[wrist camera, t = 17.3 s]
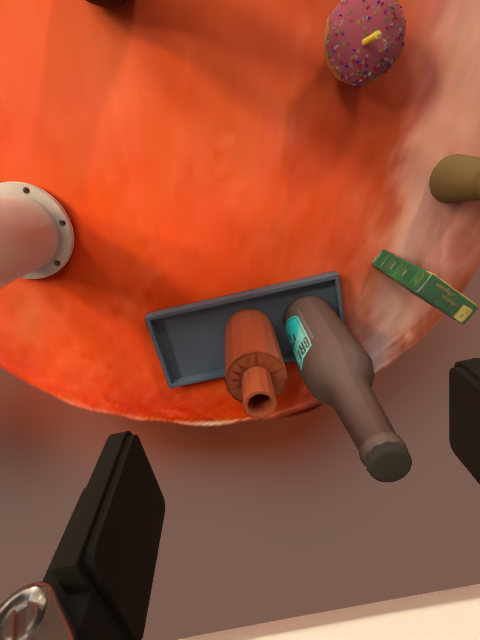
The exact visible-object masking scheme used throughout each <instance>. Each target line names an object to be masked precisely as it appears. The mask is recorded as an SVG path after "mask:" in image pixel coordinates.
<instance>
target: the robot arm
mask: <svg viewBox="0 0 480 640" xmlns="http://www.w3.org/2000/svg"><path fill="white" fill-rule="evenodd" d="M28 189H30V192H29V191H28ZM63 221H65V222H66V224H64V223H63ZM73 248H74V231H73V226H72V223H71V220H70V218H69V216H68V214H67V213H66V211H65V209H64V208H63V207H62V205H61V204H60V203H59V202H58V201H57V200H56V199H55V198H54V197H53V196H52V195H51V194H49V193H48V192H46V191H45V190H43V189H41V188H39V187H37V186H35V185H32V184H28V183H24V182H4V183H0V288H2V287H4V286H6V285H8V284H9V283H11V282H13V281H15V280H17V279H19V278H24V279H40V278H45V277H48V276H51V275H52V274H54V273H56V272H58V271H59V270H60V269H62V268H63V267H64V266H65V265H66V263H67V262H68V261H69V259H70V257H71V255H72V252H73ZM58 260H59V261H60V263H59V262H58ZM449 412H450V413H449V431H450V432H449V434H450V435H449V437H450V438H449V440H450V445H451V448H452V450H453V452H454V453H455V455H456V456H457V457H458V458H459V460H460V461H461V462H462V463H463V464H464V466H465V467H466V468H467V469H468V470H469V472H470V473H471V474H472V476H473V477H474V478H475V479H476V480H477V482H478V483H479V484H480V358H473V359H469V360H464V361H459V362H456V363H455V365H454V368H451V369H450V373H449ZM164 514H165V501H164V497H163V495H162V493H161V490H160V488H159V485H158V483H157V480H156V478H155V476H154V473H153V471H152V468H151V466H150V463H149V461H148V459H147V456H146V454H145V451H144V449H143V446H142V444H141V442H140V439H139V437H138V436H137V435H132V433H131V432H130V431H126V432H121V433H117V434H112V435H110V436H109V437H108V439H107V441H106V443H105V446H104V448H103V450H102V452H101V455H100V457H99V459H98V462H97V464H96V466H95V468H94V471H93V473H92V475H91V478H90V480H89V482H88V484H87V487H86V488H85V489H84V490H83V492H82V493H81V496H80V498H79V500H78V503H77V505H76V507H75V509H74V511H73V514H72V516H71V519H70V520H69V523H68V525H67V528H66V530H65V532H64V534H63V536H62V539H61V541H60V543H59V545H58V548H57V550H56V552H55V554H54V557H53V559H52V561H51V564H50V566H49V568H48V570H47V572H46V575H45V577H44V579H43V582H35V583H31V584H29V585H26V586H24V587H22V588H20V589H19V590H17V591H16V592H14V593H13V594H11V596H9V597H8V598H7V599H6V600H5V601H4V602H3V603H2V604H1V605H0V640H142V637H143V634H144V628H145V622H146V617H147V611H148V605H149V599H150V594H151V588H152V582H153V577H154V571H155V565H156V560H157V554H158V548H159V542H160V537H161V531H162V525H163V520H164ZM177 640H480V584H477V585H471V586H466V587H460V588H454V589H448V590H443V591H437V592H432V593H426V594H420V595H415V596H409V597H403V598H398V599H393V600H387V601H381V602H376V603H370V604H365V605H359V606H354V607H348V608H343V609H337V610H332V611H327V612H321V613H315V614H310V615H304V616H299V617H293V618H288V619H283V620H277V621H272V622H267V623H261V624H256V625H251V626H245V627H241V628H235V629H230V630H225V631H219V632H213V633H208V634H203V635H198V636H192V637H187V638H182V639H177Z"/></svg>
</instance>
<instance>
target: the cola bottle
mask: <svg viewBox="0 0 480 640" xmlns="http://www.w3.org/2000/svg"><path fill="white" fill-rule="evenodd" d="M87 1H88V2H90V3H92V4H95V5H98V6H102V7H114V6H118V5H120V4H122V3H124V2H125V1H127V0H87Z"/></svg>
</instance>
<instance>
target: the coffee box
mask: <svg viewBox="0 0 480 640" xmlns="http://www.w3.org/2000/svg"><path fill="white" fill-rule="evenodd" d="M372 265H373V266H374V267H376V268H377V269H378V270H380V271H381V272H383V273H384V274H385V275H386V276H388V277H390V278H391V279H392V280H394V281H395V282H397V283H398V284H400V285H401V286H402V287H404V288H405V289H407V290H408V291H410V292H411V293H413V294H414V295H416V296H418V297H419V298H421V299H422V300H424V301H425V302H427V303H429V304H430V305H432V306H433V307H435V308H437V309H438V310H440V311H442V312H443V313H445V314H446V315H448V316H450V317H451V318H453V319H455V320H456V321H458V322H459V323H461V324H465V323H466V321H467V320H468V319H469V318H470V317H471V315H472V314H473V313H474V312H475V311H476V310H477V308H478V306H477V305H476V304H474V303H473V302H472V301H470V300H469V299H468V298H466V297H465V296H464V295H462V294H461V293H460V292H458V291H457V290H456V289H454V288H453V287H452V286H450V285H449V284H447V283H446V282H445V281H443V280H442V279H440V278H439V277H437V276H436V275H435V274H433V273H431V272H429V271H427V270H425V269H422V268H420V267H418V266H416V265H414V264H412V263H410V262H408V261H406V260H404V259H402V258H400V257H398V256H395V255H394V254H392V253H390V252H388V251H386V250H384V249H383V250H382V251H381V252H380V253H379V254H378V256H377V257H376V258H375V259H374V261H373V263H372Z"/></svg>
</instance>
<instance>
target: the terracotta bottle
mask: <svg viewBox="0 0 480 640" xmlns="http://www.w3.org/2000/svg"><path fill="white" fill-rule="evenodd" d="M287 379H288V376H287V371H286V367H285V364H284V360H283V357H282V354H281V351H280V348H279V344H278V341H277V338H276V335H275V332H274V328H273V325H272V322H271V321H270V319H269V317H268V316H267V315H266V314H265V313H263V312H262V311H260V310H257V309H251V308H247V309H242V310H239V311H237V312H236V313H234V314H233V315H232V316H231V317H230V318H229V319H228V321H227V323H226V327H225V383H226V387H227V390H228V392H229V393H230V394H231V395H232V396H233V398H234V399H236V400H238V401H240V402H242V403H243V405H244V409H245V412H246V413H247V414H248V415H250V416H251V417H254V418H258V419H261V418H265V417H268V416H270V415H271V414H272V413H274V411H275V409H276V407H277V402H276V398H278V397H279V396H280V394H281V393H282V392H283V390H284V389H285V387H286V383H287Z"/></svg>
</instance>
